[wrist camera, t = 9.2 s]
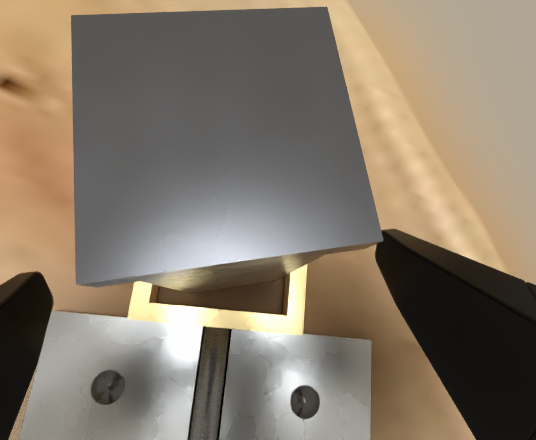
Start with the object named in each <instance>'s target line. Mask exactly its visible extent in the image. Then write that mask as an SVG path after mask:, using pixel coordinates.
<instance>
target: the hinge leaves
mask: <svg viewBox="0 0 536 440" xmlns="http://www.w3.org/2000/svg"><path fill="white" fill-rule="evenodd" d="M306 277H307V264H306V265H304V266H302V267H300V268H298V269H297V270H295V271H293V272H291V273H289V274H287V275H286V277H285V290H284V303H283V315H279V314H268V313H258V312H248V311H237V310H227V309H216V308H206V307H195V306H185V305H174V304H164V303H156V300H157V295H158V289H159V286H158V285H154V284H150V283H146V282H142V281H138V282H134V287H133V292H132V297H131V302H130V307H129V312H128V317H121V316H111V315H100V314H89V313H78V312H67V311H52V312H51V316H50V319H49V323H48V327H47V331H46V335H45V339H44V342H43V346H42V350H41V354H40V358H39V362H38V366H37V370H36V373H35V377H34V381H33V385H32V389H31V393H30V397H29V401H28V405H27V409H26V412H25V416H24V420H23V424H22V428H21V432H20V436H19V440H188V437H189V430H190V423H191V416H192V408H193V401H194V394H195V387H196V379H197V372H198V365H199V358H200V350H201V343H202V336H203V329H204V326H205V330H204V337H203V345H202V352H201V359H200V366H199V374H198V381H197V388H196V396H195V403H194V410H193V417H192V425H191V432H190V439H189V440H217V434H218V425H219V417H220V408H221V400H222V391H223V383H224V375H225V366H226V358H227V349H228V341H229V332H230V329H232V332H231V341H230V349H229V358H228V366H227V375H226V384H225V392H224V401H223V409H222V418H221V426H220V435H219V440H370V427H371V340H369V339H361V338H350V337H339V336H329V335H318V334H307V333H303V325H304V309H305V293H306Z"/></svg>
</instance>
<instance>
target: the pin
mask: <svg viewBox="0 0 536 440" xmlns="http://www.w3.org/2000/svg"><path fill="white" fill-rule="evenodd" d="M71 33H72V90H73V146H74V203H75V259H76V285H83V286H91V287H103V286H110V285H117V284H124V283H131V282H138V281H142V282H146V283H150V284H154V285H158V286H162V287H166V288H170V289H175V290H179V291H183V292H187V293H198V292H204V291H211V290H217V289H224V288H230V287H237V286H243V285H250V284H257V283H263V282H270V281H276V280H278V279H280V278H281V277H283V276H285V275H287V274H289V273H291V272H293V271H295V270H297V269H298V268H300V267H302V266H304V265H306V264H308V263H310V262H312V261H314V260H315V259H317V258H319V257H321V256H323V255H325V254H332V253H339V252H346V251H353V250H360V249H365V248H368V247H370V246H373V245H375V244H377V243H380V242H382V241H383V236H382V232H381V228H380V224H379V220H378V216H377V212H376V207H375V203H374V199H373V195H372V191H371V187H370V183H369V178H368V174H367V170H366V166H365V162H364V158H363V153H362V149H361V145H360V141H359V137H358V133H357V129H356V124H355V120H354V116H353V112H352V108H351V104H350V100H349V95H348V91H347V87H346V83H345V79H344V75H343V70H342V66H341V62H340V58H339V54H338V50H337V46H336V41H335V37H334V33H333V29H332V25H331V21H330V16H329V12H328V8H327V7H307V8H277V9H247V10H218V11H188V12H158V13H128V14H99V15H71Z"/></svg>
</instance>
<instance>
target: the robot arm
mask: <svg viewBox="0 0 536 440" xmlns="http://www.w3.org/2000/svg"><path fill="white" fill-rule="evenodd" d="M381 232H382V236H383V241H382V242H380V243H377V246H376V251H375V259H376V262H377V264H378V267H379V269H380V271H381V273H382V275H383V278H384V280H385V282H386V284H387V286H388V289H389V291H390V293H391V295H392V297H393V300H394V302H395V304H396V306H397V307H398V309H399V311H400V313H401V314H402V316H403V318H404V319H405V321H406V323H407V324H408V326H409V328H410V329H411V331H412V333H413V334H414V336H415V338H416V340H417V341H418V343H419V345H420V346H421V348H422V350H423V351H424V353H425V355H426V356H427V358H428V360H429V361H430V363H431V365H432V366H433V368H434V370H435V371H436V373H437V375H438V376H439V378H440V380H441V381H442V383H443V385H444V387H445V388H446V390H447V392H448V393H449V395H450V397H451V398H452V400H453V402H454V403H455V405H456V407H457V408H458V410H459V412H460V413H461V415H462V417H463V418H464V420H465V422H466V423H467V425H468V427H469V429H470V430H471V432H472V434H473V435H474V437H475V439H476V440H536V285H534V284H531V283H529V282H526V283H525V281H523V280H521V279H519V278H516V277H514V276H511V275H509V274H506V273H504V272H501V271H499V270H496V269H494V268H491V267H489V266H486V265H484V264H481V263H479V262H476V261H474V260H471V259H469V258H466V257H464V256H461V255H459V254H457V253H454V252H452V251H449V250H447V249H444V248H442V247H439V246H437V245H434V244H432V243H429V242H427V241H424V240H422V239H419V238H417V237H414V236H412V235H409V234H407V233H404V232H402V231H399V230H397V229H387V230H382V231H381ZM53 302H54V301H53V295H52V293H51V291H50V289H49V287H48V285H47V283H46V281H45V278H44V276H43V275H42V274H41V273H40V272H37V271H35V272H27V273H21V274H18V275H16V276H15V277H13V278H11V279H10V280H8V281H7V282H5V283H3V284H2V285H0V440H8V439H9V436H10V433H11V431H12V428H13V426H14V423H15V421H16V418H17V415H18V413H19V410H20V408H21V405H22V402H23V400H24V397H25V395H26V392H27V390H28V387H29V384H30V382H31V379H32V377H33V374H34V372H35V369H36V366H37V363H38V360H39V357H40V354H41V350H42V346H43V342H44V339H45V335H46V331H47V327H48V323H49V319H50V316H51V312H52V308H53Z"/></svg>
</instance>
